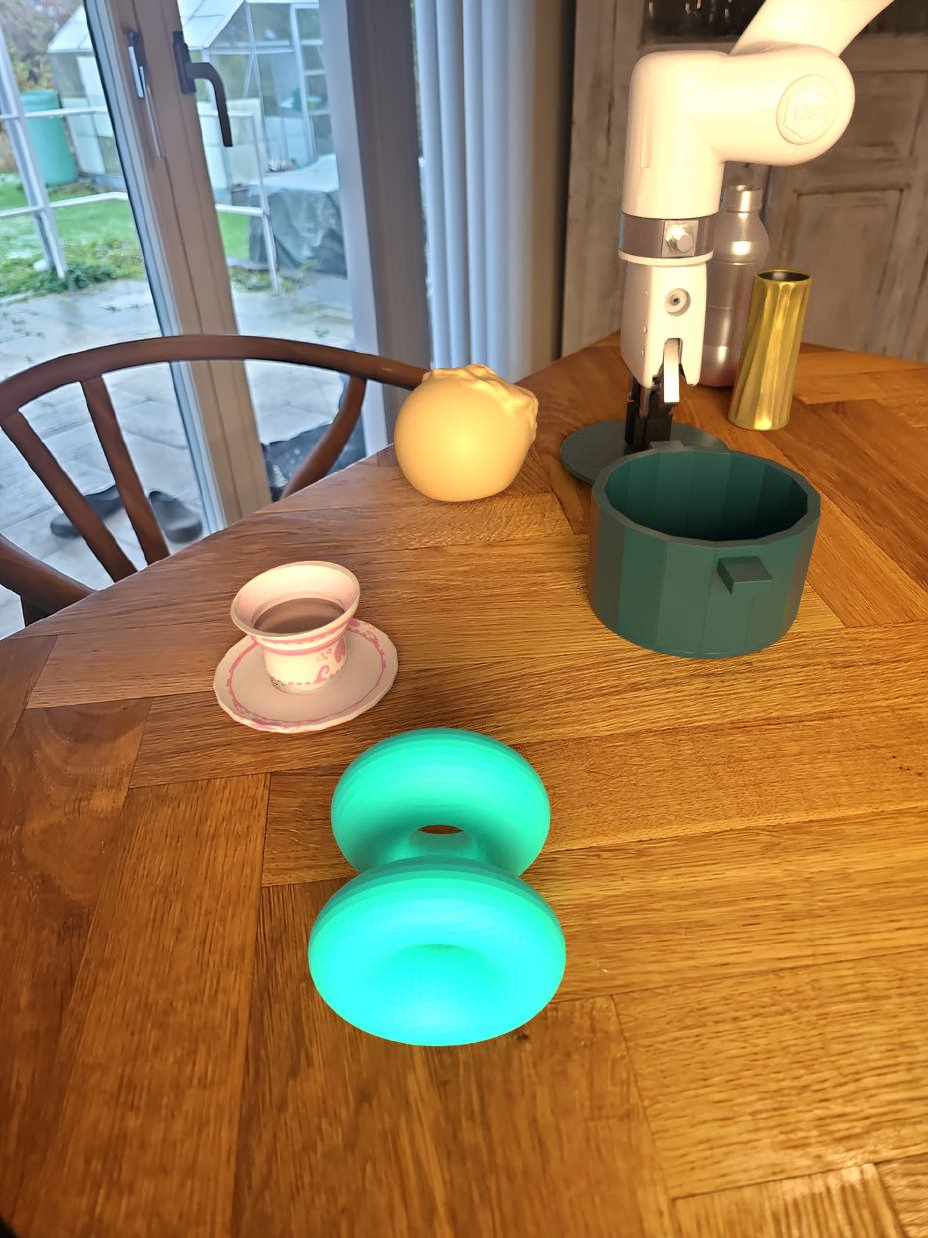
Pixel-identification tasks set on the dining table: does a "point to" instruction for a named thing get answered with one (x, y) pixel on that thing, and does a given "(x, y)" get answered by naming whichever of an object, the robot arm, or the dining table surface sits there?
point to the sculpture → (464, 433)
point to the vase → (770, 350)
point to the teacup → (303, 652)
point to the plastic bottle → (731, 282)
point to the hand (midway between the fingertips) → (645, 448)
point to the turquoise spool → (438, 893)
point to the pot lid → (618, 445)
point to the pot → (699, 549)
